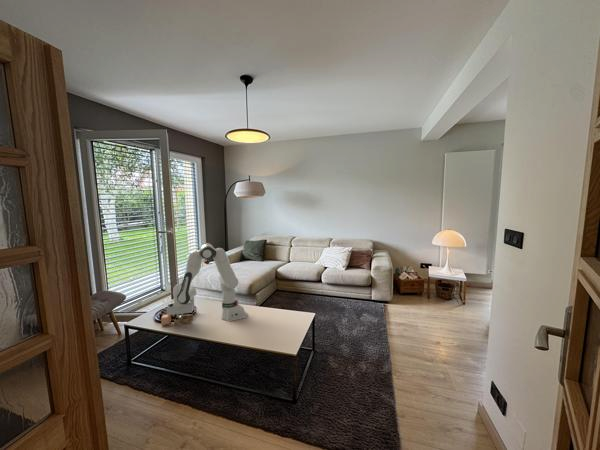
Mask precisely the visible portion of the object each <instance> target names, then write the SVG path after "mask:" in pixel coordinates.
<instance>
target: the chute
mask: <svg viewBox="0 0 600 450" xmlns="http://www.w3.org/2000/svg"><path fill="white" fill-rule="evenodd" d="M179 316H182V315H181V314H179ZM176 318H178V316H177V315H176ZM176 318H175V319H173V320H174V322H170V324H164V325H163V327H165V328H166V327H174V326H183V325H185V326H186V325H192V323H193V322H192V321H193V320H194V313H192V314H189V313H187V314H183V318H182V319H179V320H176Z"/></svg>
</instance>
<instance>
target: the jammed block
mask: <svg viewBox="0 0 600 450" xmlns="http://www.w3.org/2000/svg"><path fill="white" fill-rule="evenodd" d="M160 320H161V321H160V322H161V325H162V326H164V324H170V322H171V320H172V315H167V314H162V316H161V319H160Z"/></svg>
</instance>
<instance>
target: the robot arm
mask: <svg viewBox="0 0 600 450" xmlns="http://www.w3.org/2000/svg"><path fill="white" fill-rule="evenodd" d="M203 259H204V260H211V259H213V261H214V263H215V266H216V269H217V271H218V273H219V276H218V280H219V282H220V288H221V295H222V298H221V299H222V302H221V308H222V310H221V316H220V318H221V319H222V320H223V321H227V322H233V321H239V320H243V319H246V318H248V317H247V316H248V313H247V311H246V310H245V309H244V307H243V306H242V305H241V304H239V301H238V299H236V290H235V288H237V287H238V285H239V280H238V278H237V275H236V274H235V272H234V269H233V268H232V266H231V264H230V261H229V257H228V255H227V253H226V251H225V249H224V248H222V247H217V248H215V247H214V245H213V244H212V243H211V242H204V243H202V244H201V245H200V246H199V248H198V249H197V250H192V251H190V253H189V256H188V258H187V261H186V266H185V270H184V271H185V272H184V276H183V279H182V282H181V283H177V284H175V285H174V286H173V290H172V293H173V294H172V295H173V300H172V301H169V303H167V308H166V315H171V316H172V315H176V316H178V319H182V318H183V315H185V314H189V313H192V311H193V303H192V302H189V301H190V300H191V299H192V298H193V297H194V298H195V297H196V295H197V290H196V288H195V287H193V286H191V285H192V281H193V279H195V277H196V276H197V275H199V273H200V271H201V268H202V267H201V266H202V262H203ZM192 314H193V313H192ZM179 315H182V316H179ZM242 318H243V319H242Z"/></svg>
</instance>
